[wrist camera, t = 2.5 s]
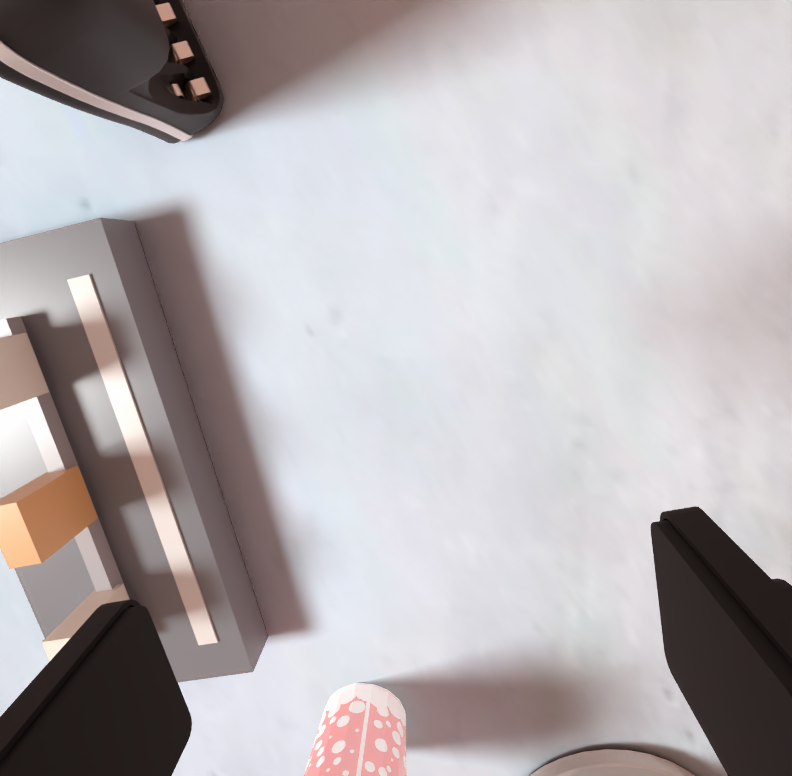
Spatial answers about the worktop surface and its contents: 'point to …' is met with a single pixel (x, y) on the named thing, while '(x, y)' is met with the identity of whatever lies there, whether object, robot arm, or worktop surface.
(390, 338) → the worktop surface
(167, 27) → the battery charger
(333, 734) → the beverage cup
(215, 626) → the switch panel
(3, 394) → the switch paddles
